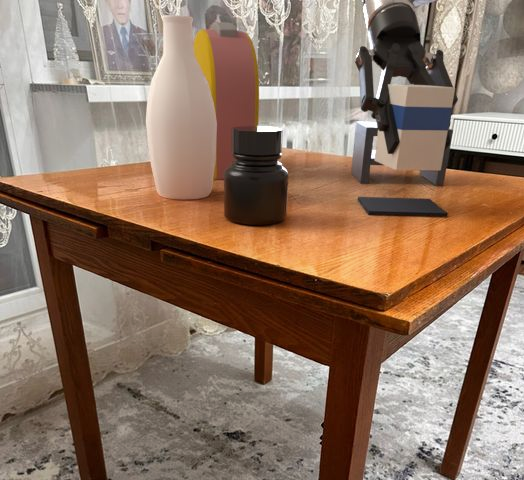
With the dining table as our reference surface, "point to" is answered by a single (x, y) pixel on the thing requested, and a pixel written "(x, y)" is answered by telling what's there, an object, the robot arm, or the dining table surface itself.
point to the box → (417, 127)
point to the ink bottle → (256, 177)
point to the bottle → (181, 118)
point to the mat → (401, 207)
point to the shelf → (366, 156)
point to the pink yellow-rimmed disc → (229, 83)
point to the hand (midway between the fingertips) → (419, 147)
